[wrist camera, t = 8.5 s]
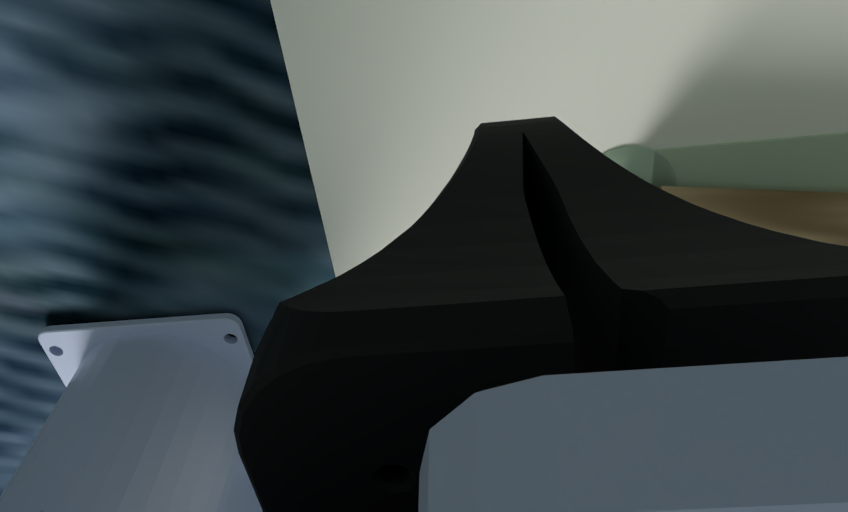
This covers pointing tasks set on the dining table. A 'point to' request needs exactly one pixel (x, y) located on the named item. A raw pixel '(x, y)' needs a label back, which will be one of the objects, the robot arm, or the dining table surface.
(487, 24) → the card
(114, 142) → the dining table surface
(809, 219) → the folding fence panel
